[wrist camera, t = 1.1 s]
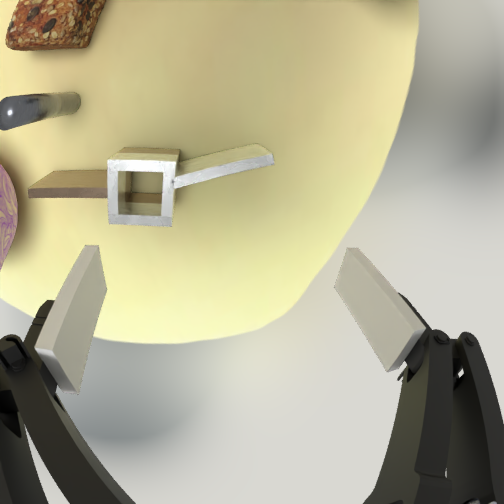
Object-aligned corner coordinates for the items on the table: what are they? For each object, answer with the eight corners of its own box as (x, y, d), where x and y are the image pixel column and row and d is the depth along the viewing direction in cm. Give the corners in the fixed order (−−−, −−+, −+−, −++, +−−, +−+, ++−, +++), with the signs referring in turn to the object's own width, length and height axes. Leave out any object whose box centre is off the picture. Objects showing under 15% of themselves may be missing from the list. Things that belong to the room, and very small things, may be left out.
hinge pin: (62, 93, 25) (-4, 99, 12) (81, 91, 26) (19, 94, 13) (60, 114, 26) (-6, 132, 14) (79, 113, 27) (17, 128, 15)
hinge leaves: (53, 136, 28) (25, 147, 21) (260, 143, 35) (276, 154, 28) (55, 199, 32) (32, 221, 26) (249, 208, 39) (260, 232, 33)
